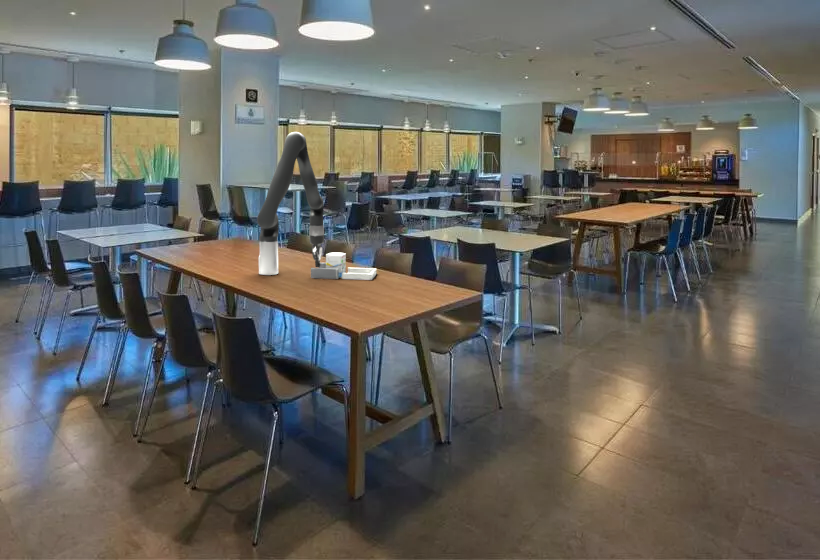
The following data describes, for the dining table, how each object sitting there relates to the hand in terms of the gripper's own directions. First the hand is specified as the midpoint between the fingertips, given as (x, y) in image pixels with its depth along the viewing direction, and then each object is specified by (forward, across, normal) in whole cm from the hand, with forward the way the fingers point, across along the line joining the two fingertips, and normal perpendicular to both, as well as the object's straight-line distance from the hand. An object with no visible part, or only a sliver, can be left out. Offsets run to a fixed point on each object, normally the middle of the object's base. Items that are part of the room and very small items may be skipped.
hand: (317, 267), depth 314 cm
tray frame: (+4, 0, +22) cm, 22 cm away
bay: (+4, 0, +6) cm, 7 cm away
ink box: (+5, 0, +10) cm, 11 cm away
